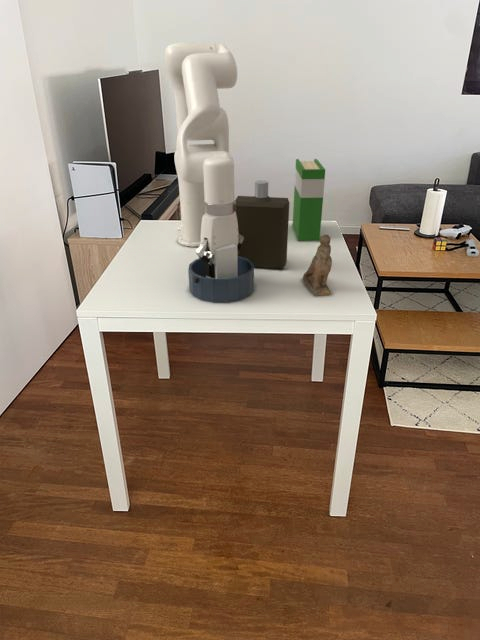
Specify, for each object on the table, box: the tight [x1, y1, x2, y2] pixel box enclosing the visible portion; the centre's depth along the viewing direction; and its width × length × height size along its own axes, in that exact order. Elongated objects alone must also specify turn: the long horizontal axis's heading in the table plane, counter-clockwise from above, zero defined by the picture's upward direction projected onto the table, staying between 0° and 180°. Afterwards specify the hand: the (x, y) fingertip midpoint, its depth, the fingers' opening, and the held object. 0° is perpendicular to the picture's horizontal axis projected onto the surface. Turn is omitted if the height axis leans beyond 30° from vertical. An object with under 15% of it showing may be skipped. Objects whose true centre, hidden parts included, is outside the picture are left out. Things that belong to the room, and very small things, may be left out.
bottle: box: [234, 179, 290, 270], centre depth 140 cm, size 8×16×25 cm, turn 80°
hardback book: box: [292, 158, 326, 242], centre depth 166 cm, size 18×7×24 cm, turn 1°
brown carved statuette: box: [302, 234, 333, 297], centre depth 127 cm, size 12×6×18 cm, turn 6°
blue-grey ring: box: [187, 256, 255, 304], centre depth 130 cm, size 18×20×6 cm
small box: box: [206, 244, 238, 279], centre depth 128 cm, size 8×6×13 cm
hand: (221, 271), depth 129 cm, fingers closed on small box, 7 cm apart
